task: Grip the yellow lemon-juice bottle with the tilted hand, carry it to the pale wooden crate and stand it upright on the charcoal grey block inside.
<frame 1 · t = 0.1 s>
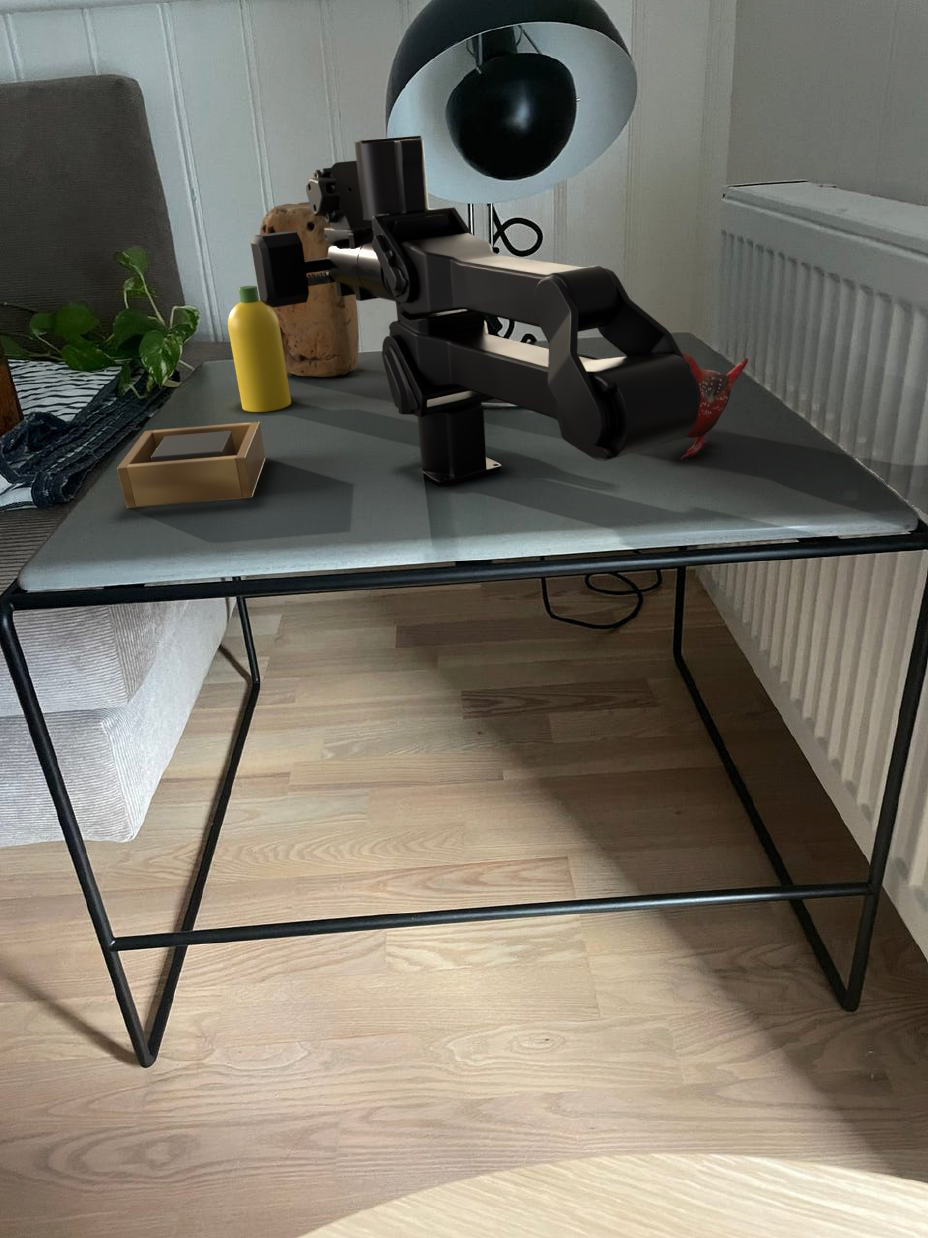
hand: (316, 253, 97), 17 cm above the table, tool horizontal, fingers open, 9 cm apart
grey block: (199, 480, 85), point 1 cm above the table, touching crate
decorative bird figurine: (704, 449, 87), on the table
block: (319, 374, 122), on the table
crate: (201, 489, 85), on the table
lemon bottle: (266, 405, 109), on the table
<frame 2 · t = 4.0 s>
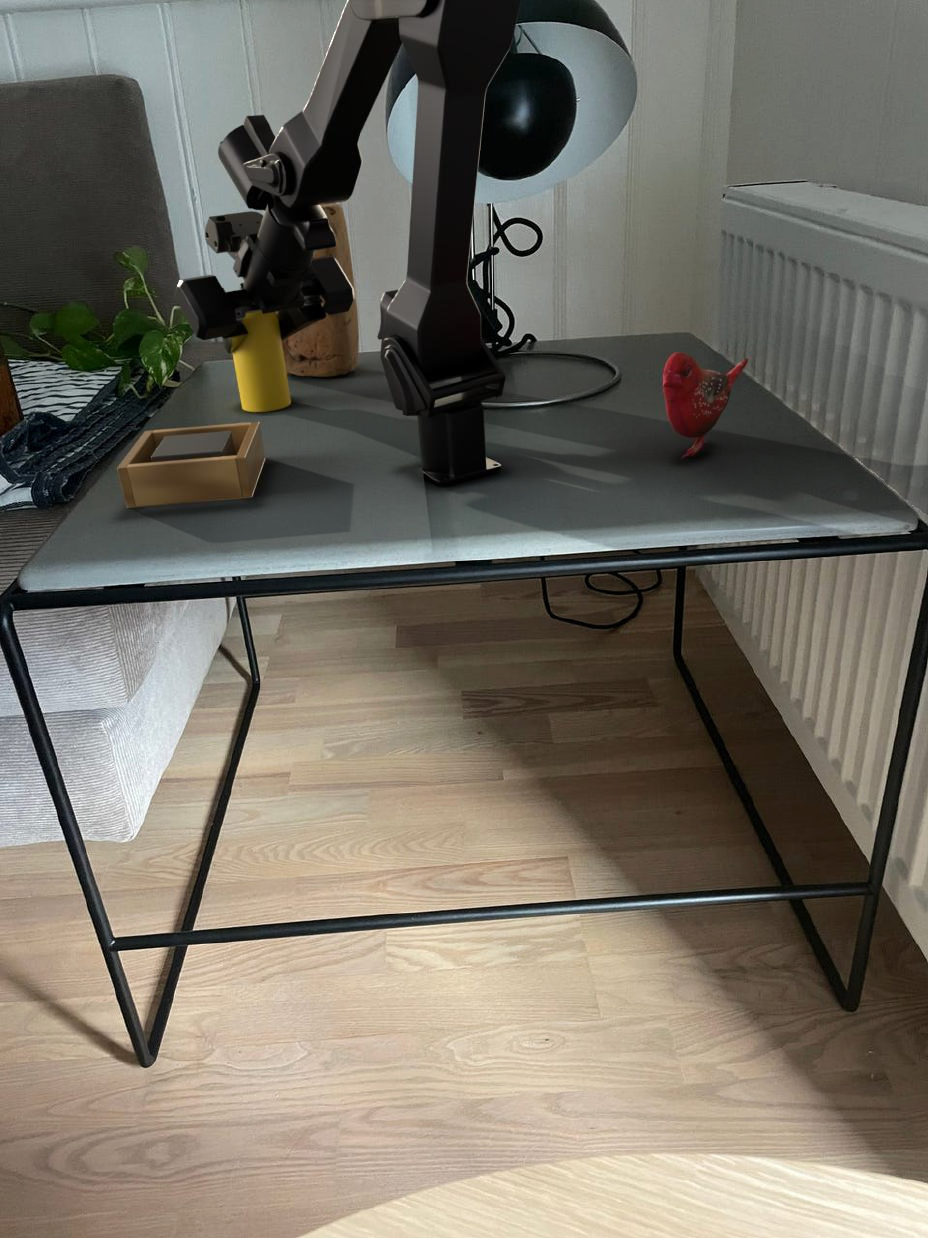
hand: (251, 344, 107), 7 cm above the table, tool tilted 45°, fingers closed on lemon bottle, 5 cm apart
lemon bottle: (266, 405, 109), on the table, touching gripper
everything else where it was.
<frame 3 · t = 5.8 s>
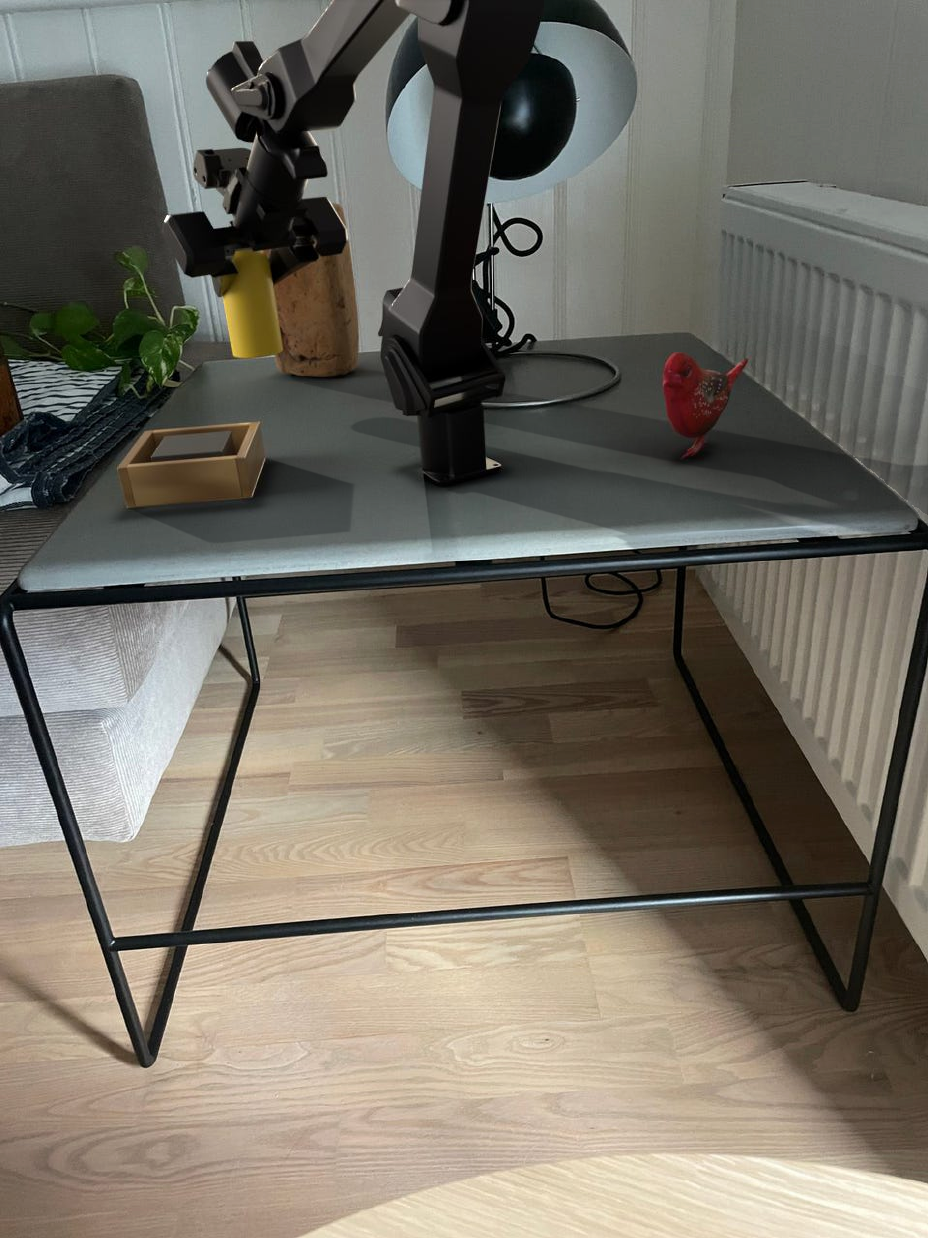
hand: (242, 289, 104), 13 cm above the table, tool tilted 45°, fingers closed on lemon bottle, 5 cm apart
lemon bottle: (258, 352, 106), point 6 cm above the table, touching gripper
everything else where it was.
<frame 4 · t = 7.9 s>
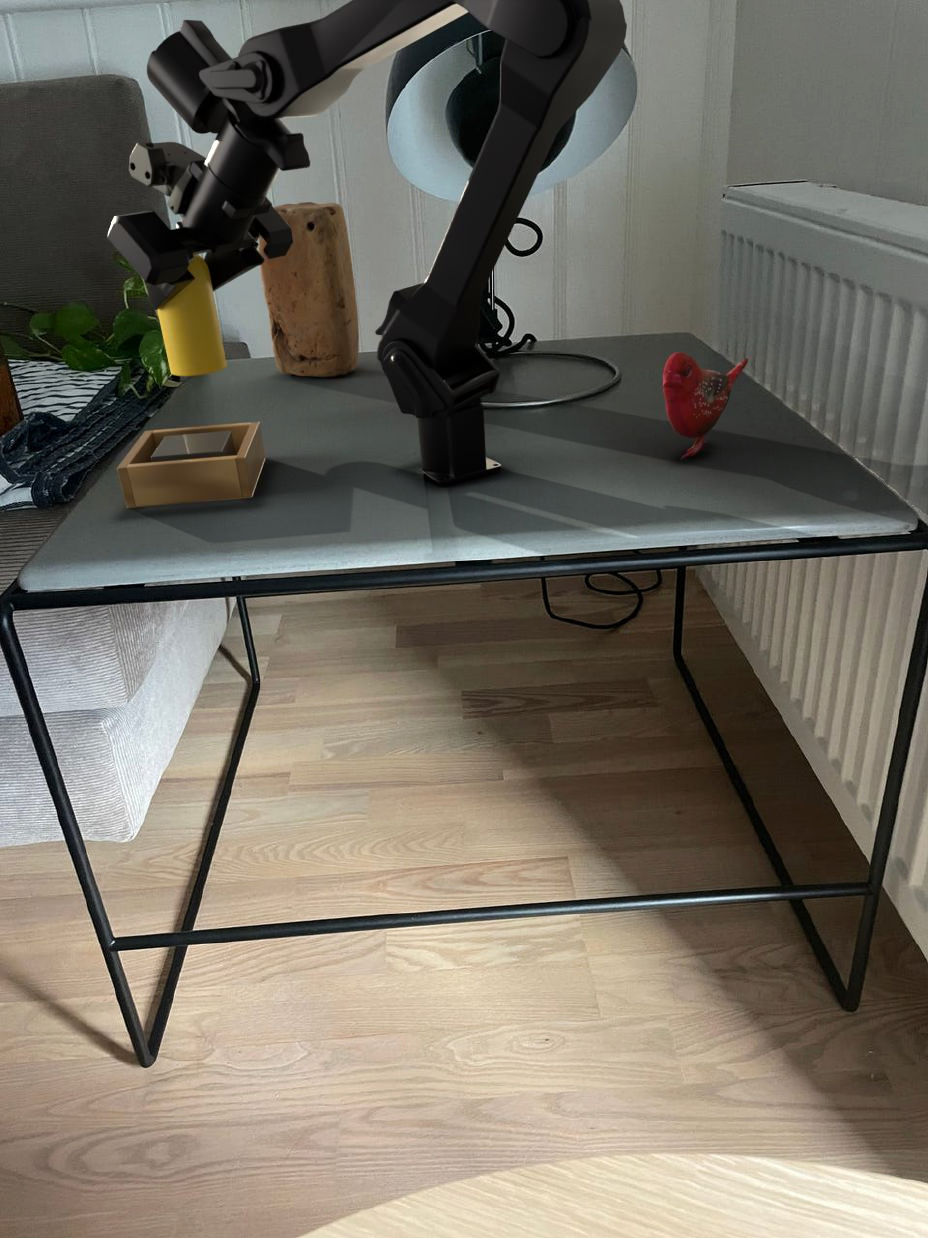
hand: (175, 300, 93), 14 cm above the table, tool tilted 45°, fingers closed on lemon bottle, 5 cm apart
lemon bottle: (199, 369, 96), point 7 cm above the table, touching gripper
everything else where it was.
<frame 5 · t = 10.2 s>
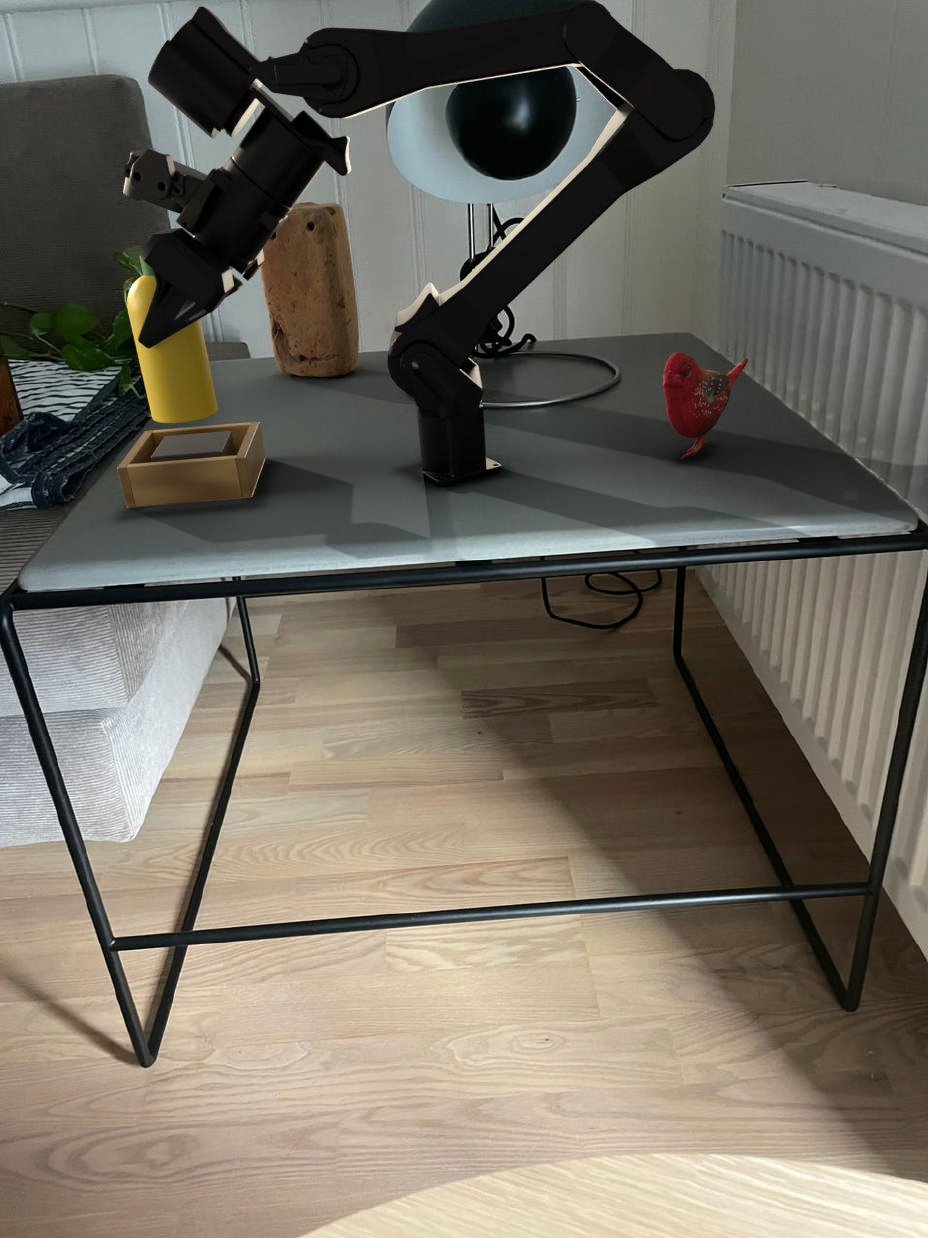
hand: (153, 336, 79), 14 cm above the table, tool tilted 45°, fingers closed on lemon bottle, 5 cm apart
lemon bottle: (185, 413, 82), point 7 cm above the table, touching gripper
everything else where it was.
when the fingers open (11 cm above the table, at t = 12.1 s): lemon bottle stays where it is, resting on grey block.
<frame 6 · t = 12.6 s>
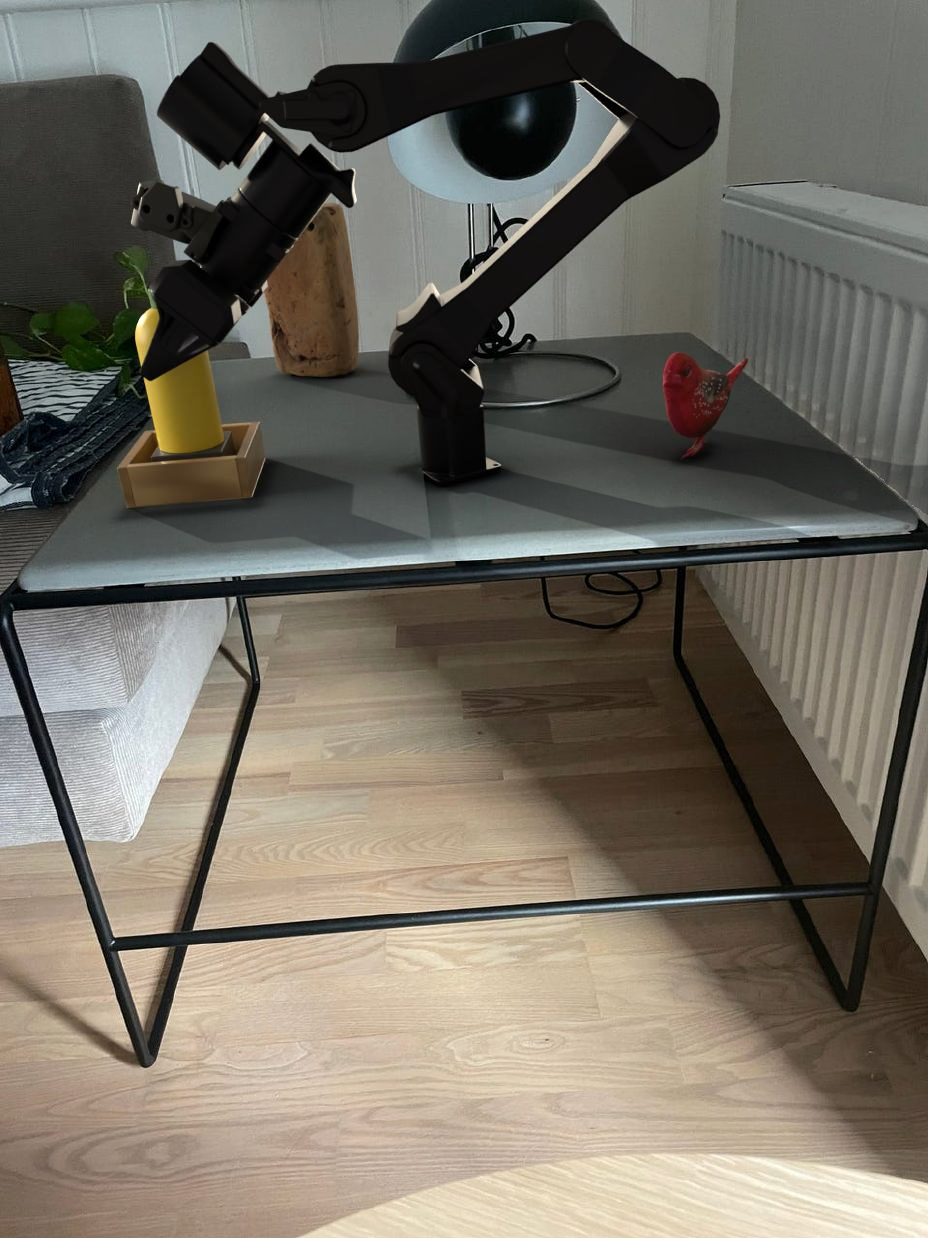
hand: (158, 363, 80), 11 cm above the table, tool tilted 45°, fingers open, 9 cm apart
grey block: (199, 480, 85), point 1 cm above the table, touching crate, lemon bottle
lemon bottle: (192, 443, 83), point 4 cm above the table, touching grey block
everything else where it was.
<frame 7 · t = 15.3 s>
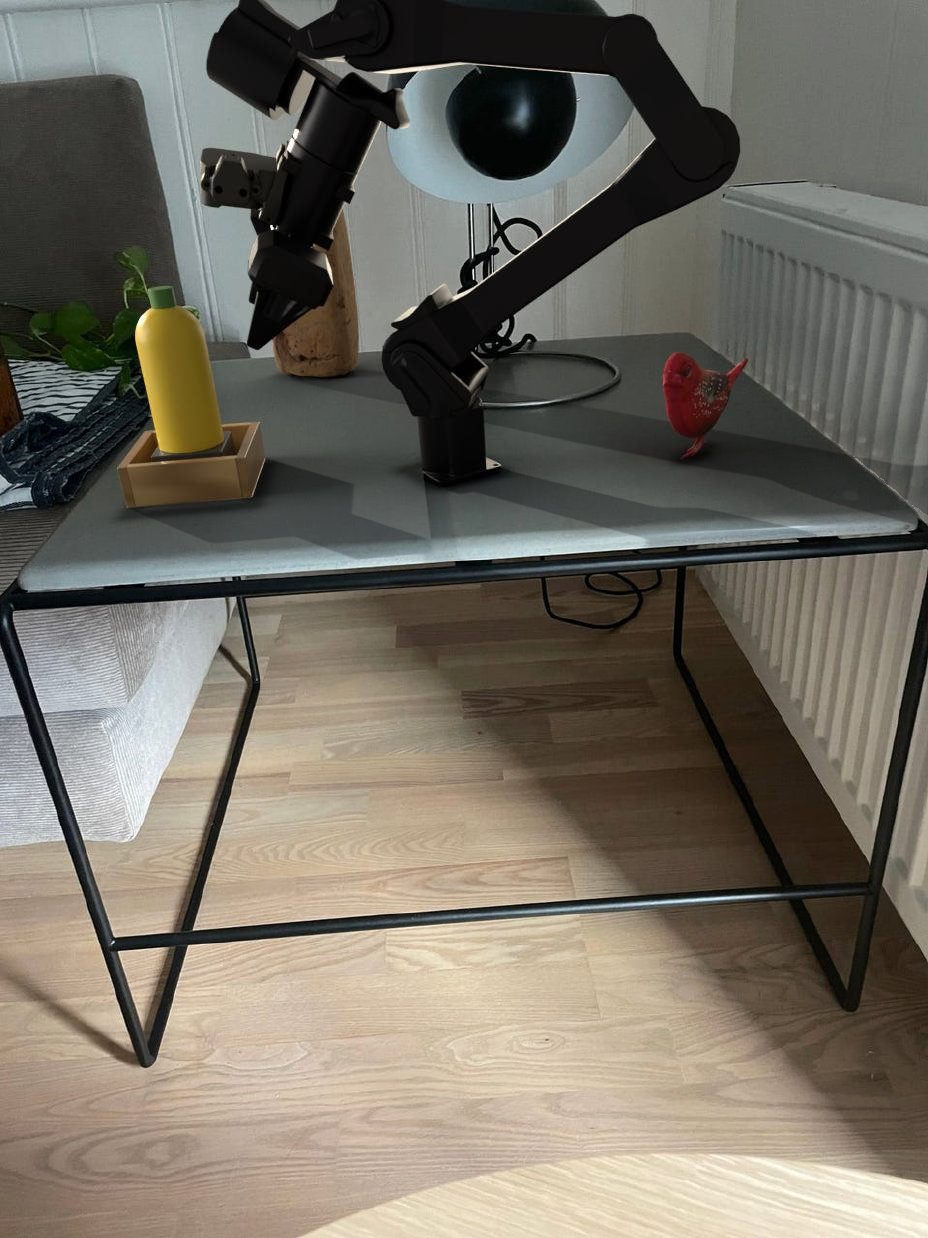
hand: (253, 324, 83), 13 cm above the table, tool tilted 35°, fingers open, 9 cm apart
nothing on the table moved.
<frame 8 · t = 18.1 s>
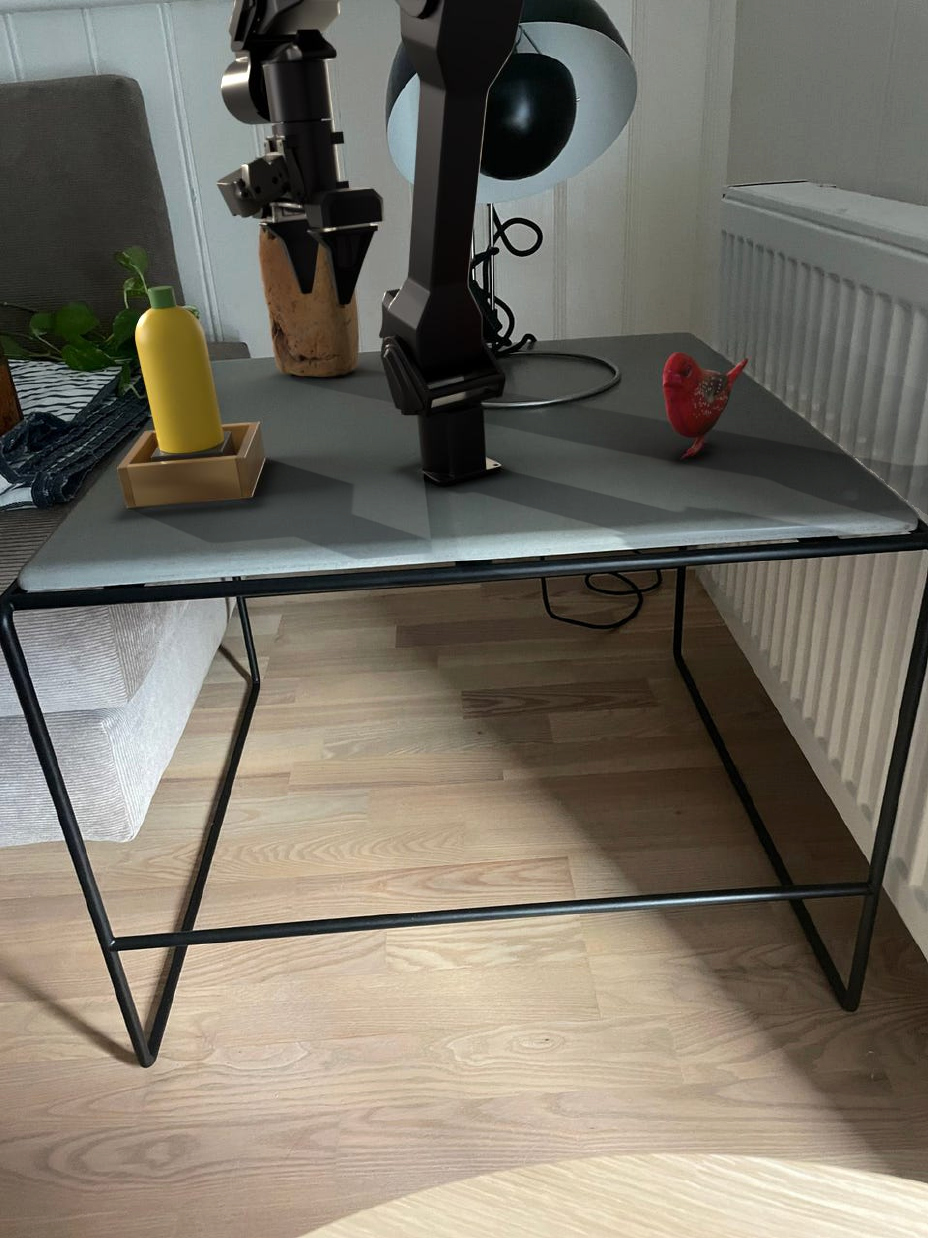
hand: (324, 298, 94), 13 cm above the table, tool pointing down, fingers open, 9 cm apart
nothing on the table moved.
at the end: lemon bottle 0.0 cm off-centre on the grey block, point 3.5 cm above the grey block's base; lemon bottle tilted 0° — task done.
